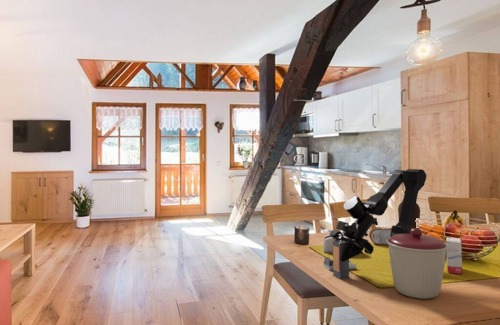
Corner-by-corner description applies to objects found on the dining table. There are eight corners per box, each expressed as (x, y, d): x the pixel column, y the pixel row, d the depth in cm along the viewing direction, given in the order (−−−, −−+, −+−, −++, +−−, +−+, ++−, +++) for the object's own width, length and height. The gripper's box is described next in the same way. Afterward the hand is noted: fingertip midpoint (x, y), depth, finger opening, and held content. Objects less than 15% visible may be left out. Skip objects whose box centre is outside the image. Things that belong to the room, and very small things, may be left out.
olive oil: (407, 241, 175) (406, 192, 174) (393, 236, 185) (393, 190, 185) (424, 239, 177) (424, 192, 177) (410, 235, 188) (410, 190, 187)
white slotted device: (358, 250, 160) (359, 231, 157) (360, 256, 156) (361, 237, 153) (322, 249, 163) (322, 231, 160) (322, 255, 159) (323, 236, 155)
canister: (377, 283, 119) (376, 223, 119) (426, 281, 120) (426, 221, 120) (404, 306, 101) (403, 235, 101) (462, 303, 102) (462, 233, 102)
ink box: (462, 275, 126) (462, 243, 126) (446, 273, 128) (446, 241, 128) (461, 268, 133) (461, 238, 133) (446, 266, 136) (446, 236, 136)
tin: (401, 244, 169) (401, 227, 169) (402, 246, 166) (402, 229, 166) (369, 243, 173) (369, 226, 173) (369, 244, 170) (369, 227, 170)
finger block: (341, 274, 129) (341, 239, 129) (349, 277, 125) (348, 242, 125) (332, 275, 127) (332, 241, 127) (339, 279, 123) (339, 243, 123)
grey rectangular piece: (349, 263, 141) (349, 255, 140) (356, 268, 134) (355, 260, 134) (323, 265, 139) (323, 256, 139) (329, 270, 133) (329, 261, 133)
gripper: (333, 209, 136) (310, 240, 131) (367, 216, 119) (342, 252, 114) (348, 227, 139) (327, 257, 135) (384, 236, 122) (360, 272, 118)
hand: (338, 259), depth 125 cm, fingers open, 4 cm apart
